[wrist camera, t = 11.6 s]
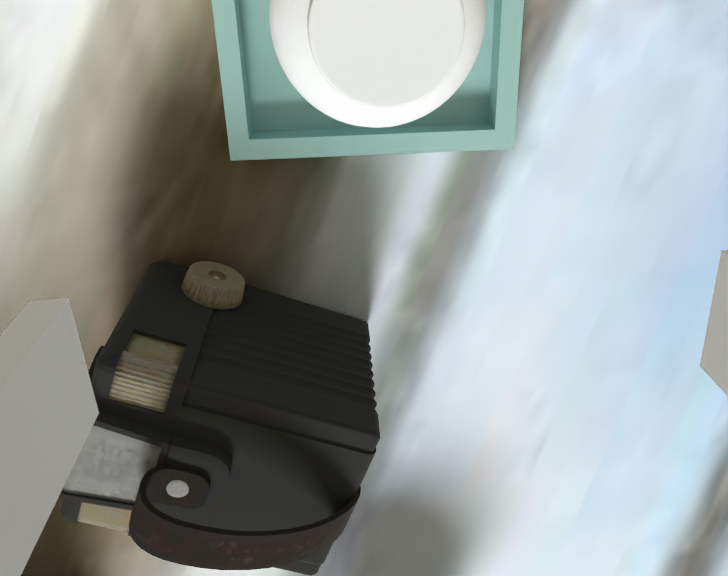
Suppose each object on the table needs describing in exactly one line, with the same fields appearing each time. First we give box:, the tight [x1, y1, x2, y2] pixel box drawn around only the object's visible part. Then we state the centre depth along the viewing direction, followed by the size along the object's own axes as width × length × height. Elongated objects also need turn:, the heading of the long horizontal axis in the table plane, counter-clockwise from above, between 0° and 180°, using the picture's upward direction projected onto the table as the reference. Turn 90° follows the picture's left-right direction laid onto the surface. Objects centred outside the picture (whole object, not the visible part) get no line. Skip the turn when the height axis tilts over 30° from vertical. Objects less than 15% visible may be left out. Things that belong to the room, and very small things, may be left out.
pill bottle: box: [269, 0, 486, 128], centre depth 26 cm, size 8×7×14 cm
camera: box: [59, 261, 380, 575], centre depth 34 cm, size 11×14×15 cm
